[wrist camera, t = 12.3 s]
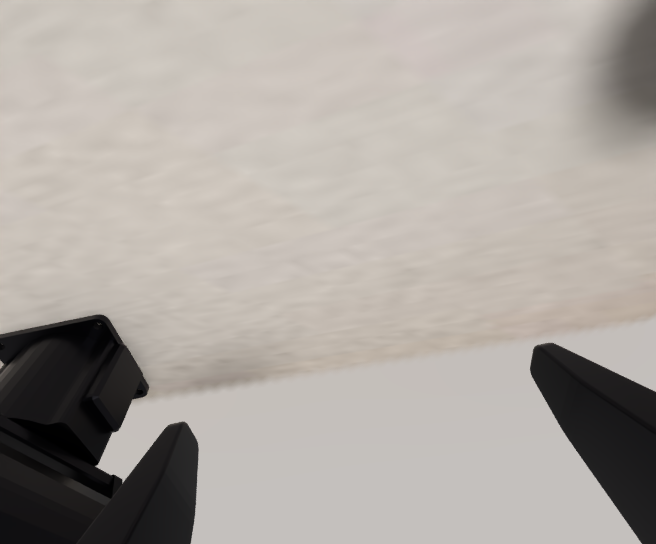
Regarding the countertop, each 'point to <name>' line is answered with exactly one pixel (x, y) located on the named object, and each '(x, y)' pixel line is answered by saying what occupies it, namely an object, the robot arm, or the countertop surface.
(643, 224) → the countertop surface
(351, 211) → the countertop surface
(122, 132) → the countertop surface
